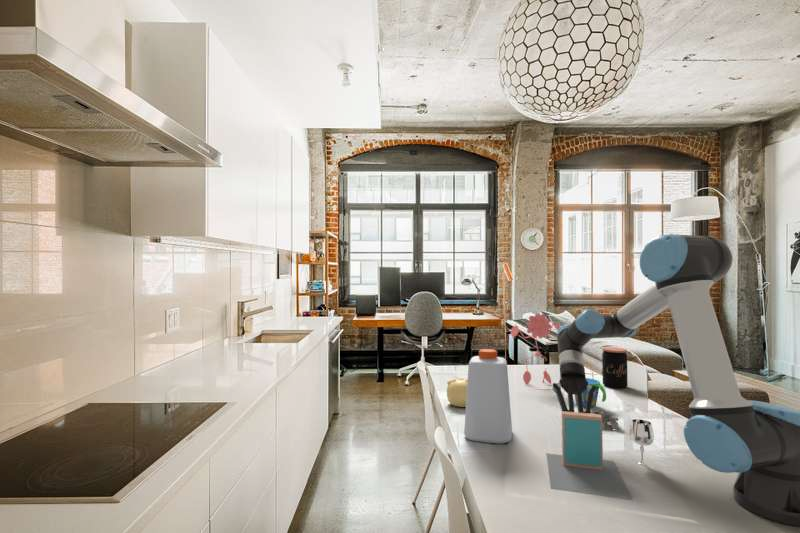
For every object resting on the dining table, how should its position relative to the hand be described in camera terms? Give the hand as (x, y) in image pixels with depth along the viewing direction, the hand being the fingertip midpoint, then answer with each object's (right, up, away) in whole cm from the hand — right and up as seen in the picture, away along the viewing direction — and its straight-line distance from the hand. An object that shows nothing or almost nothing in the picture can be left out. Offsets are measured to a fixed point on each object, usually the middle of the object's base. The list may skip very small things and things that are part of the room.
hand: (579, 438), depth 118 cm
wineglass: (+16, -6, -4) cm, 18 cm away
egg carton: (+21, -7, +29) cm, 37 cm away
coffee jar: (+52, -9, +79) cm, 95 cm away
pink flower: (+16, -9, +80) cm, 83 cm away
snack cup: (+25, -8, +50) cm, 56 cm away
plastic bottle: (-22, -7, +18) cm, 30 cm away
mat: (-3, -6, -10) cm, 12 cm away
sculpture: (-26, -8, +51) cm, 58 cm away
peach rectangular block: (-1, -5, -5) cm, 8 cm away
